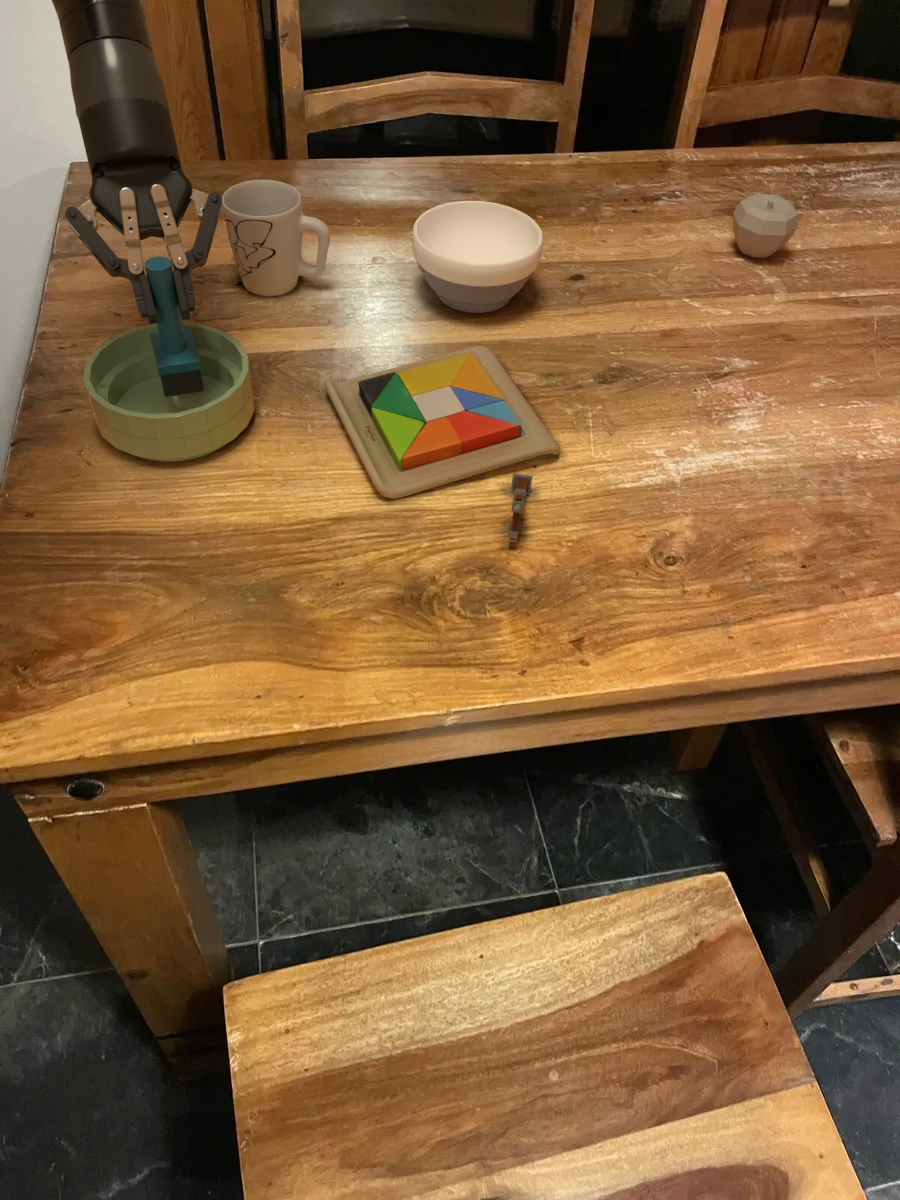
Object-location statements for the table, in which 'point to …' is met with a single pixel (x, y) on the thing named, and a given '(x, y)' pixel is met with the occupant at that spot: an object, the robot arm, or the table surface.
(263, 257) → the mug
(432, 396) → the wooden puzzle
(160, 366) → the teal peg on base
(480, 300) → the bowl
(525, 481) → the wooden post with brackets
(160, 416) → the wash bowl
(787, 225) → the apple
